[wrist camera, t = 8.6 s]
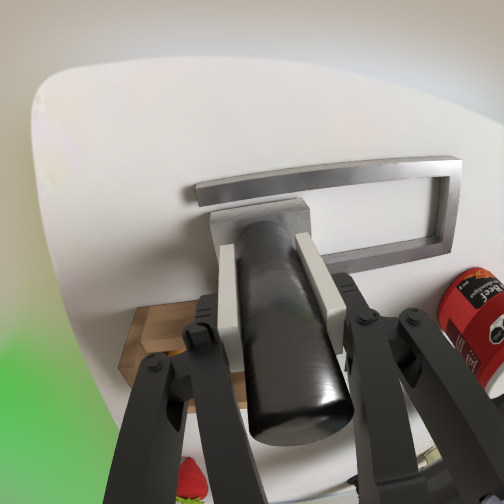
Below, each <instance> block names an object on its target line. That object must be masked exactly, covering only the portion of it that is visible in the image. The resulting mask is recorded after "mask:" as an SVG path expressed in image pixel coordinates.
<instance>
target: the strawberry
mask: <svg viewBox="0 0 504 504" xmlns="http://www.w3.org/2000/svg"><path fill="white" fill-rule="evenodd" d="M207 493H208V485H207V481H206V478H205V476H204V475H203V473H202V471H201V470H200V468H199V467H198V465H197V464H196V463H195V461H194V460H193V459H192V458H187V459H186V460H185V461H184V462H183V463H182V464H181V465H180V469H179V477H178V485H177V494H176V498H177V499H176V502H181V501H182V503H181V504H203V503H205V502H201V501H197V500H202V499H204V498H205V497H206V496H207Z"/></svg>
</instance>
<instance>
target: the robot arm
mask: <svg viewBox="0 0 504 504" xmlns="http://www.w3.org/2000/svg"><path fill="white" fill-rule="evenodd" d="M295 245H296V253H297V255H298V257H299V260H300V262H301V265H302V267H303V270H304V273H305V275H306V278H307V280H308V283H309V285H310V288H311V290H312V293H313V296H314V298H315V301H316V303H317V306H318V309H319V311H320V314H321V316H322V319H323V322H324V324H325V327H326V330H327V332H328V335H329V338H330V341H331V343H332V346H333V349H334V352H335V354H336V355H338V354H342V353H343V346H344V348H345V351H346V353H347V354H346V362H345V371H347V374H348V381H349V389H350V397H351V400H352V403H353V406H354V410H355V411H354V415H353V423H354V433H355V444H356V456H357V470H358V486H359V504H504V394H502V395H500V396H498V397H496V398H492V399H490V397H489V396H488V394H487V393H486V391H485V390H484V389H483V387H482V386H481V384H480V383H479V381H478V380H477V379H476V377H475V376H474V374H473V373H472V372H471V370H470V369H469V368H468V366H467V365H466V363H465V361H464V360H463V358H462V357H461V355H460V354H459V352H458V351H456V350H455V349H454V348H453V346H452V345H451V344H450V342H449V341H448V340H447V339H446V337H445V336H444V335H443V334H442V332H441V331H440V330H439V329H438V327H437V326H436V325H435V324H434V322H433V321H432V320H431V319H430V317H429V316H428V315H427V314H426V313H425V312H424V311H422V310H420V309H416V308H409V309H406V310H404V311H402V312H401V314H400V317H399V318H396V317H382V316H380V314H379V313H378V312H377V311H375V310H374V309H370V308H369V306H368V305H367V303H366V301H365V299H364V298H363V296H362V294H361V292H360V291H359V290H358V287H357V286H356V285H355V282H354V280H353V279H352V277H351V276H349V275H348V274H346V273H345V272H340V273H335V274H330V273H329V271H328V269H327V268H326V266H325V264H324V262H323V260H322V258H321V256H320V254H319V252H318V250H317V248H316V246H315V244H314V243H313V241H312V239H311V237H310V235H309V233H308V232H305V233H298V234H295ZM181 336H182V338H183V341H184V343H185V346H186V348H187V349H186V350H185V351H183V352H182V353H179V354H177V355H174V356H171V357H168V355H166V354H164V353H161V352H155V353H151V354H149V355H147V356H146V357H145V358H143V359H142V361H141V363H140V365H139V368H138V371H137V374H136V378H135V381H134V384H133V387H132V391H131V394H130V397H129V401H128V404H127V408H126V411H125V415H124V418H123V422H122V426H121V429H120V433H119V437H118V441H117V444H116V448H115V452H114V456H113V461H112V464H111V468H110V473H109V477H108V481H107V486H106V491H105V495H104V500H103V504H175V503H176V494H177V485H178V477H179V469H180V461H181V453H182V446H183V439H184V431H185V424H186V417H187V411H188V404H189V400H190V399H193V398H194V402H195V408H196V415H197V421H198V427H199V432H200V438H201V443H202V449H203V454H204V459H205V464H206V469H207V474H208V479H209V483H210V488H211V492H212V497H213V501H214V504H268V501H267V498H266V495H265V492H264V489H263V485H262V482H261V479H260V476H259V473H258V470H257V467H256V463H255V460H254V457H253V454H252V450H251V447H250V444H249V440H248V437H247V434H246V430H245V427H244V423H243V420H242V416H241V413H240V409H239V406H238V402H237V398H236V395H235V391H234V387H233V384H232V380H231V377H230V371H231V373H233V372H241V371H244V359H243V344H242V330H241V315H240V300H239V285H238V268H237V259H236V254H235V249H234V244H229V245H223V246H220V259H219V290H218V293H217V294H210V295H203V296H201V297H200V299H199V300H198V302H197V304H196V313H195V321H194V322H191V323H190V324H188V325H187V326H185V328H184V329H183V330H182V335H181ZM229 368H230V370H229ZM345 371H344V372H345ZM399 379H400V381H401V383H402V385H403V386H404V388H405V390H406V392H407V393H408V395H409V397H410V399H411V400H412V402H413V404H414V406H415V408H416V409H417V411H418V413H419V415H420V417H421V419H422V420H423V422H424V424H425V426H426V428H427V430H428V432H429V433H430V435H431V437H432V439H433V441H434V443H435V445H436V447H437V449H438V451H439V453H440V455H441V458H439V459H437V460H436V461H434V462H432V463H430V464H428V465H427V466H425V467H421V468H419V469H418V465H417V459H416V454H415V448H414V443H413V438H412V433H411V428H410V423H409V419H408V414H407V410H406V405H405V401H404V397H403V393H402V389H401V385H400V381H399Z"/></svg>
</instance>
